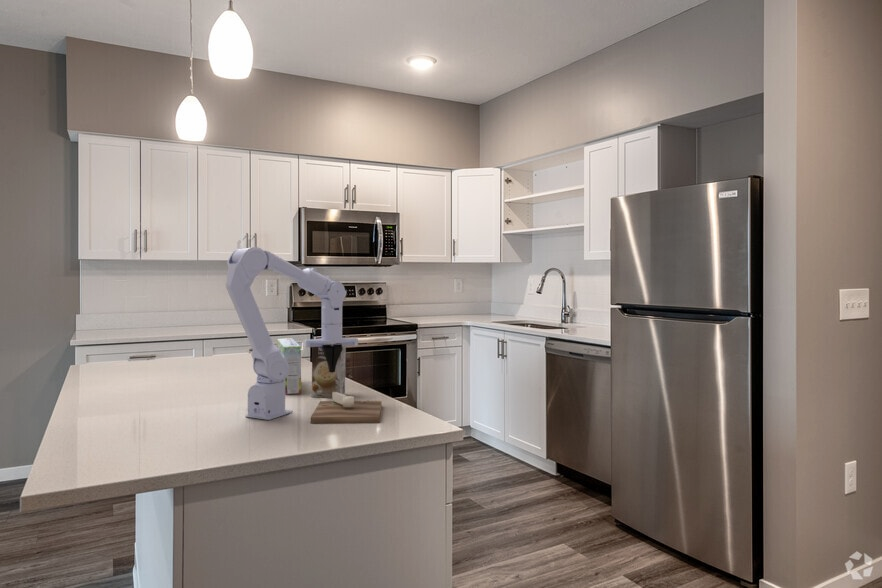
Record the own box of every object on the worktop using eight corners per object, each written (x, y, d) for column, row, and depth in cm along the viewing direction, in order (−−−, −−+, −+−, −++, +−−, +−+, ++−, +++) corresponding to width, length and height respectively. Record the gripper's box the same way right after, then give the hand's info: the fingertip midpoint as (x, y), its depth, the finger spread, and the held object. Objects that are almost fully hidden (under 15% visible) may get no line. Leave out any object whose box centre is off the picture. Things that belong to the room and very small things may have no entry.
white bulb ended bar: (356, 406, 155) (356, 397, 155) (345, 407, 153) (345, 398, 153) (338, 399, 163) (338, 391, 163) (328, 400, 161) (328, 392, 161)
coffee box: (310, 397, 176) (310, 343, 175) (317, 393, 182) (317, 341, 181) (340, 398, 175) (340, 344, 174) (346, 393, 181) (346, 341, 180)
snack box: (276, 382, 198) (276, 338, 198) (293, 381, 200) (293, 337, 200) (283, 395, 178) (283, 345, 178) (302, 394, 180) (302, 345, 180)
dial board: (379, 422, 147) (379, 415, 147) (310, 423, 146) (310, 416, 146) (381, 406, 165) (381, 400, 165) (320, 406, 164) (320, 400, 164)
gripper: (354, 321, 171) (354, 368, 172) (303, 322, 166) (303, 370, 167) (359, 323, 165) (359, 372, 165) (307, 325, 160) (307, 374, 160)
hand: (331, 371), depth 166 cm, fingers closed
